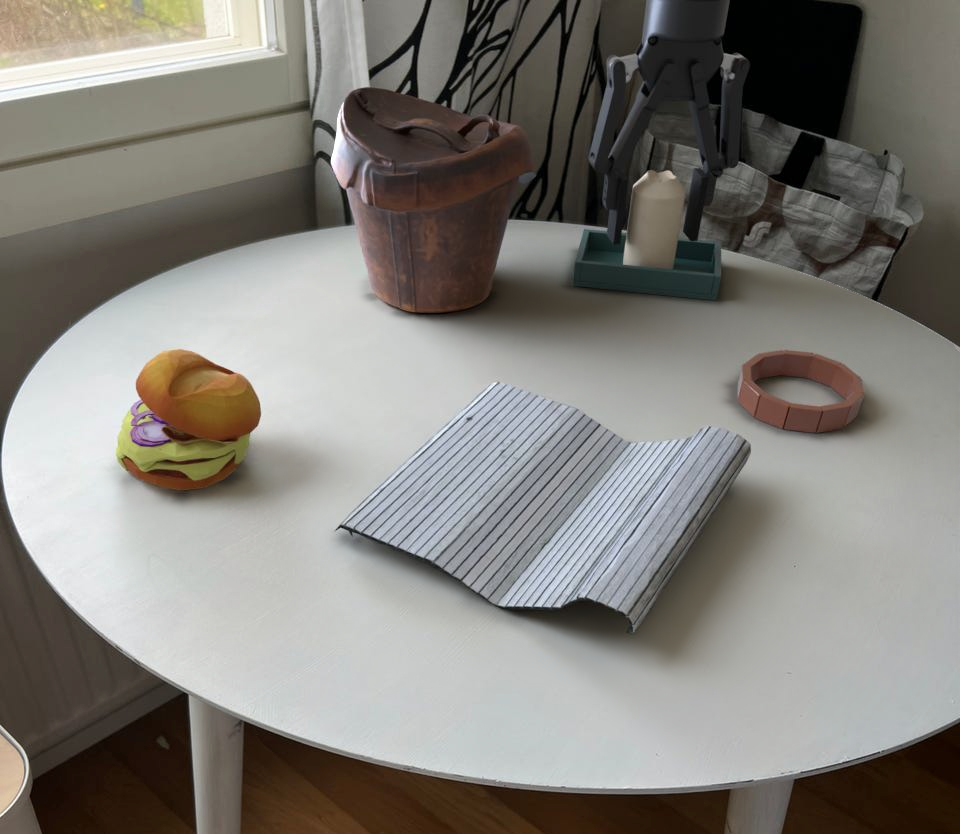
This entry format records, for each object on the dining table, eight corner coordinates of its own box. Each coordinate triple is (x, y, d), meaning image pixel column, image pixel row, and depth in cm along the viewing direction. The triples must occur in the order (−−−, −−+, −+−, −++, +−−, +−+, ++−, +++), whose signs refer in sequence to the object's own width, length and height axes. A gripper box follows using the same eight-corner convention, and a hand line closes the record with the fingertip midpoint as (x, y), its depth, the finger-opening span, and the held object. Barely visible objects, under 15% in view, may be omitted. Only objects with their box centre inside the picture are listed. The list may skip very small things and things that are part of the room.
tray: (716, 265, 108) (721, 241, 106) (716, 300, 101) (721, 276, 99) (581, 251, 109) (583, 228, 107) (572, 285, 103) (574, 262, 101)
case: (548, 319, 97) (563, 127, 84) (352, 335, 93) (338, 137, 81) (504, 249, 109) (512, 72, 97) (330, 261, 106) (315, 79, 93)
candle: (612, 270, 104) (624, 174, 97) (639, 255, 107) (653, 161, 100) (654, 285, 102) (670, 187, 95) (681, 269, 105) (698, 173, 98)
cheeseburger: (122, 431, 80) (125, 319, 73) (252, 449, 83) (265, 343, 77) (109, 500, 72) (111, 383, 66) (251, 517, 76) (267, 406, 69)
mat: (487, 405, 84) (489, 356, 81) (741, 488, 77) (755, 437, 73) (332, 544, 70) (327, 492, 67) (627, 664, 62) (637, 611, 59)
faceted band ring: (850, 378, 90) (857, 357, 88) (861, 438, 82) (869, 416, 81) (736, 366, 91) (741, 344, 89) (737, 424, 83) (743, 401, 82)
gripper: (781, -24, 90) (731, 220, 106) (569, -24, 87) (550, 227, 103) (814, -8, 85) (755, 247, 101) (589, -6, 82) (566, 256, 98)
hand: (651, 237), depth 102 cm, fingers open, 8 cm apart
